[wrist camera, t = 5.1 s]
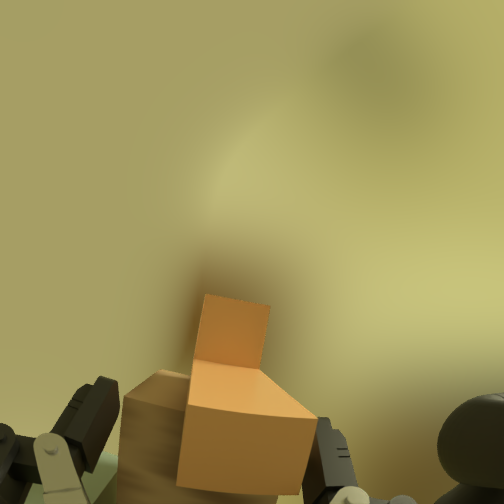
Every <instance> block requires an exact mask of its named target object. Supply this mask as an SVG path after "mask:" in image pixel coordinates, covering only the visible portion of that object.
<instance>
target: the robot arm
mask: <svg viewBox="0 0 504 504" xmlns="http://www.w3.org/2000/svg"><path fill="white" fill-rule="evenodd" d="M119 409H120V401H119V391H118V382H117V381H116V380H113V379H109V378H106V377H103V376H99V377H98V378H97V380H96V382H95V383H94V385H90V384H85V385H84V386H82V387H81V388H79V389H78V390H77V391H76V393H75V394H74V395H73V397H72V400H70V402H69V403H68V406H67V407H66V408H65V410H64V411H63V413H62V414H61V416H60V417H59V419H58V421H57V422H56V424H55V426H54V427H53V429H52V430H51V431H50V432H49V433H45V434H41V435H40V436H38V437H37V438H32V437H26V436H21V435H16V434H15V433H14V431H13V429H12V428H11V427H10V426H8V425H6V424H3V423H0V504H24V503H25V501H26V498H27V496H28V494H29V491H30V489H31V487H32V484H33V483H35V484H40V485H43V489H44V493H43V498H44V502H45V504H91V502H90V500H89V497H88V495H87V492H86V490H85V487H84V485H83V482H82V479H81V478H82V476H83V473H84V471H85V472H88V473H91V474H93V472H94V469H95V467H96V465H97V462H98V460H99V458H100V455H101V453H102V451H103V449H104V446H105V444H106V442H107V440H108V437H109V435H110V433H111V431H112V429H113V426H114V424H115V422H116V420H117V417H118V414H119ZM317 418H318V422H317V427H316V431H315V435H314V439H313V443H312V447H311V451H310V455H309V459H308V463H307V467H306V470H305V474H304V478H303V481H302V491H303V499H304V504H417V503H416V501H415V500H414V499H412V498H411V497H409V496H406V495H399V496H396V497H394V498H393V499H392V500H390V501H387V500H381V499H375V498H371V497H369V496H368V495H367V493H365V491H364V490H362V489H360V488H359V487H358V484H357V481H356V477H355V473H354V469H353V465H352V461H351V458H350V454H349V450H348V446H347V443H346V439H345V437H344V436H343V435H342V433H341V432H340V431H339V430H335V429H332V426H331V423H330V419H329V418H327V417H317ZM437 450H438V457H439V460H440V463H441V465H442V467H443V469H444V470H445V471H446V473H447V474H448V475H449V476H450V477H451V478H452V479H454V480H455V481H457V482H459V483H460V484H458V485H457V486H456V487H455V488H453V489H452V490H451V491H449V492H447V493H446V494H444V495H443V496H441V497H440V498H439V499H438V500H437V501H436V502H435V503H434V504H504V393H496V394H487V395H482V396H477V397H475V398H472V399H470V400H468V401H466V402H465V403H463V404H461V405H460V406H459V407H457V408H456V409H455V410H454V411H453V412H452V413H451V414H450V415H449V417H448V418H447V419H446V421H445V422H444V424H443V426H442V429H441V430H440V433H439V436H438V442H437Z"/></svg>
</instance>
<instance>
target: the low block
mask: <svg viewBox="0 0 504 504" xmlns="http://www.w3.org/2000/svg"><path fill="white" fill-rule="evenodd" d="M117 468H118V456H116V455H113V454H110V453H107V452H104V451H102V453H101V455H100V458H99V460H98V462H97V465H96V467H95V469H94V472H93V474H91V473H88V472H85V471H84V473H83V476H82V478H81V479H82V482H83V485H84V487H85V490H86V492H87V495H88V497H89V500H90V502H91V504H116V494H117ZM43 493H44V489H43V485H40V484H35V483H33V484H32V487H31V489H30V491H29V494H28V496H27V498H26V501H25V503H24V504H45V502H44V498H43Z"/></svg>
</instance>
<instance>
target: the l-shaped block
mask: <svg viewBox="0 0 504 504" xmlns="http://www.w3.org/2000/svg"><path fill="white" fill-rule="evenodd" d="M269 312H270V306H268V305H263V304H257V303H252V302H246V301H241V300H236V299H230V298H225V297H220V296H215V295H210V294H206V295H205V299H204V303H203V309H202V314H201V320H200V325H199V330H198V336H197V341H196V347H195V353H194V358H193V365H192V370H191V376H190V382H189V389H188V396H187V403H186V410H185V417H184V425H183V432H182V440H181V448H180V456H179V464H178V473H177V482H176V486H180V487H186V488H193V489H200V490H207V491H216V492H225V493H237V494H253V495H299V492H300V488H301V485H302V481H303V478H304V474H305V470H306V467H307V463H308V459H309V455H310V451H311V447H312V443H313V439H314V435H315V431H316V427H317V422H318V418H317V417H316V416H314V415H313V414H312V413H311V412H309V411H308V410H307V409H305V408H304V407H303V406H302V405H301V404H299V403H298V402H297V401H296V400H295V399H293V398H292V397H291V396H290V395H289V394H287V393H286V392H285V391H284V390H283V389H281V388H280V387H279V386H278V385H277V384H276V383H274V382H273V381H272V380H271V379H270V378H269V377H267V376H266V375H265V374H264V373H263V372H261V371H260V370H259V367H260V363H261V357H262V351H263V346H264V340H265V335H266V328H267V323H268V317H269Z"/></svg>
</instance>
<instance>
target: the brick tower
mask: <svg viewBox="0 0 504 504" xmlns="http://www.w3.org/2000/svg"><path fill="white" fill-rule="evenodd" d="M189 382H190V376H189V375H184V374H180V373H175V372H170V371H166V370H162V369H160V370H158V371H157V372H156V373H154V374H153V375H152V376H150V377H149V378H148V379H146V380H145V381H144V382H142V383H141V384H140V385H138V386H137V387H135V388H134V389H133V390H131V391H130V392H129V393H127V394H126V395H125V396H124V399H123V408H122V418H121V427H120V439H119V453H118V468H117V494H116V504H276V502H277V499H278V495H253V494H237V493H225V492H216V491H207V490H200V489H193V488H186V487H180V486H176V482H177V473H178V464H179V456H180V448H181V440H182V432H183V425H184V417H185V410H186V403H187V396H188V389H189Z"/></svg>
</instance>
